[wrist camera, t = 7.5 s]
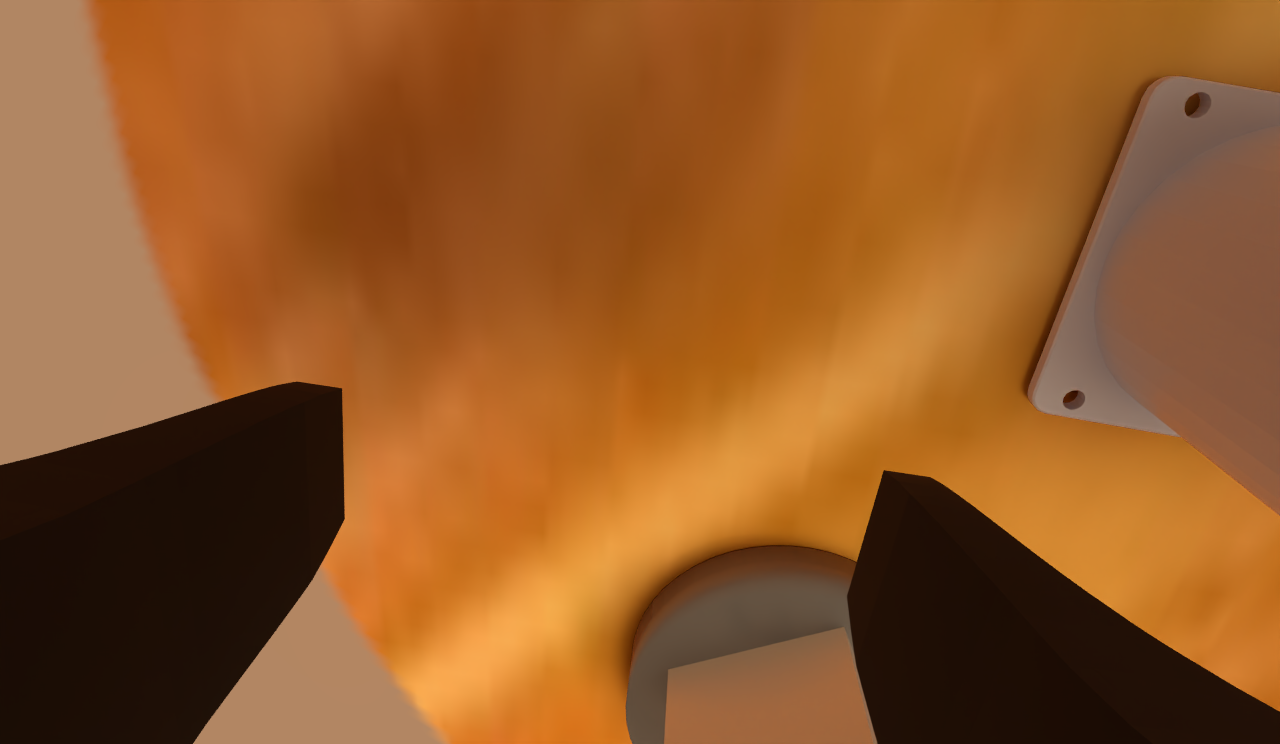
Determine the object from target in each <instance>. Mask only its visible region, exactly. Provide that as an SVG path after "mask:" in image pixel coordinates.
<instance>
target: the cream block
mask: <svg viewBox="0 0 1280 744" xmlns="http://www.w3.org/2000/svg"><path fill="white" fill-rule="evenodd" d="M664 744H877V740H876V737H875V733H874V730H873V726H872V723H871V719H870V715H869V712H868V708H867V704H866V701H865V697H864V693H863V690H862V686H861V682H860V679H859V675H858V671H857V667H856V662H855V655H854V653H853V650H852V647H851V644H850V641H849V639H848V636H847V633H846V630H845V627H841V628H837V629H833V630H829V631H825V632H821V633H817V634H812V635H808V636H804V637H800V638H796V639H792V640H788V641H784V642H779V643H775V644H771V645H767V646H763V647H759V648H755V649H751V650H746V651H742V652H738V653H734V654H730V655H726V656H722V657H718V658H713V659H709V660H705V661H701V662H697V663H693V664H689V665H684V666H680V667H676V668H672V669H668V682H667V700H666V718H665V736H664Z"/></svg>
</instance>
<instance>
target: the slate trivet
mask: <svg viewBox="0 0 1280 744" xmlns="http://www.w3.org/2000/svg"><path fill="white" fill-rule="evenodd" d="M855 567H856V562H854V561H852V560H850V559H847V558H844V557H841V556H838V555H836V554H833V553H829V552H825V551H820V550H816V549H811V548H803V547H795V546H765V547H755V548H748V549H743V550H738V551H733V552H729V553H726V554H723V555H720V556H717V557H714V558H711V559H709V560H707V561H705V562H703V563H701V564H698V565H696V566H694V567H693V568H691V569H689V570H688V571H686V572H685V573H683V574H681V575H680V576H678V577H677V578H676V579H675V580H673V581H672V582H671V583H670V584H669V585H667V586H666V587H665V588H664V589H663V590H662V591H661V592H660V593H659V595H658V596H657V597H656V598H655V599H654V600H653V601H652V603H651V604H650V606H649V607H648V609H647V610H646V612H645V613H644V615H643V617H642V619H641V621H640V624H639V626H638V628H637V631H636V635H635V638H634V642H633V649H632V658H631V666H630V675H629V683H628V692H627V701H626V720H627V726H628V731H629V735H630V739H631V741H632V743H633V744H664V736H665V718H666V700H667V682H668V669H672V668H676V667H680V666H684V665H689V664H693V663H697V662H701V661H705V660H709V659H713V658H718V657H722V656H726V655H730V654H734V653H738V652H742V651H746V650H751V649H755V648H759V647H763V646H767V645H771V644H775V643H779V642H784V641H788V640H792V639H796V638H800V637H804V636H808V635H812V634H817V633H821V632H825V631H829V630H833V629H837V628H841V627H845V630H846V633H847V636H848V639H849V641H850V644H851V647H852V650H853V653H854V649H853V642H852V635H851V627H850V619H849V610H848V602H847V594H848V591H849V587H850V584H851V580H852V577H853V574H854V570H855Z"/></svg>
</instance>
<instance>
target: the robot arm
mask: <svg viewBox="0 0 1280 744" xmlns="http://www.w3.org/2000/svg"><path fill="white" fill-rule="evenodd" d="M1195 93H1197V94H1198V95H1199V98H1200V105H1199V107H1198V109H1197V110H1196V112H1195V113H1193V114H1192V115H1190V116H1187V115H1186V113H1185V111H1184V108H1185V103H1186V101H1187V100H1188V98H1189V97H1190V96H1192V95H1193V94H1195ZM1073 390H1078V395H1077V397H1076V398H1075V399H1074V400H1073V401H1071V402H1069V403H1063V398H1064V396H1065V395H1066V394H1067V393H1069V392H1070V391H1073ZM1027 395H1028V398H1029V401H1030V402H1031V403H1032V404H1033V405H1034V406H1035V407H1036V408H1037V409H1038V410H1039V411H1041V412H1043V413H1046V414H1051V415H1057V416H1063V417H1068V418H1074V419H1080V420H1085V421H1091V422H1097V423H1102V424H1108V425H1114V426H1120V427H1125V428H1131V429H1137V430H1142V431H1148V432H1154V433H1159V434H1165V435H1171V436H1176V437H1182V438H1183V439H1184V440H1186V441H1187V442H1188V443H1189V444H1191V445H1192V446H1193V447H1194V448H1196V449H1197V450H1198V451H1199V452H1201V453H1202V454H1203V455H1204V456H1206V457H1207V458H1208V459H1209V460H1211V461H1212V462H1213V463H1214V464H1216V465H1217V466H1218V467H1219V468H1221V469H1222V470H1223V471H1224V472H1226V473H1227V474H1228V475H1229V476H1231V477H1232V478H1233V479H1234V480H1236V481H1237V482H1238V483H1239V484H1241V485H1242V486H1243V487H1244V488H1246V489H1247V490H1248V491H1249V492H1251V493H1252V494H1253V495H1254V496H1256V497H1257V498H1258V499H1260V500H1261V501H1262V502H1263V503H1265V504H1266V505H1267V506H1268V507H1270V508H1271V509H1272V510H1273V511H1275V512H1276V513H1277V514H1278V515H1280V93H1278V92H1272V91H1266V90H1260V89H1254V88H1248V87H1243V86H1237V85H1231V84H1225V83H1219V82H1214V81H1208V80H1202V79H1196V78H1190V77H1184V76H1165V77H1163V78H1160V79H1158V80H1156V81H1155V82H1154V83H1152V84H1151V85H1150V86H1149V87H1148V88H1147V90H1146V91H1145V93H1144V95H1143V96H1142V99H1141V102H1140V104H1139V107H1138V109H1137V112H1136V114H1135V117H1134V119H1133V122H1132V125H1131V127H1130V130H1129V132H1128V135H1127V137H1126V140H1125V142H1124V145H1123V148H1122V150H1121V153H1120V155H1119V158H1118V160H1117V163H1116V165H1115V168H1114V171H1113V173H1112V176H1111V178H1110V181H1109V183H1108V186H1107V188H1106V191H1105V193H1104V196H1103V199H1102V201H1101V204H1100V206H1099V209H1098V211H1097V214H1096V216H1095V219H1094V222H1093V224H1092V227H1091V229H1090V232H1089V234H1088V237H1087V239H1086V242H1085V245H1084V247H1083V250H1082V252H1081V255H1080V257H1079V260H1078V262H1077V265H1076V268H1075V270H1074V273H1073V275H1072V278H1071V280H1070V283H1069V285H1068V288H1067V291H1066V293H1065V296H1064V298H1063V301H1062V303H1061V306H1060V308H1059V311H1058V314H1057V316H1056V319H1055V321H1054V324H1053V326H1052V329H1051V331H1050V334H1049V336H1048V339H1047V342H1046V344H1045V347H1044V349H1043V352H1042V354H1041V357H1040V359H1039V362H1038V365H1037V367H1036V370H1035V372H1034V375H1033V377H1032V380H1031V382H1030V385H1029V388H1028V394H1027ZM344 519H345V514H344V464H343V415H342V388H336V387H329V386H323V385H316V384H309V383H303V382H292V383H286V384H281V385H276V386H272V387H268V388H265V389H261V390H258V391H254V392H251V393H247V394H244V395H241V396H237V397H234V398H231V399H228V400H225V401H221V402H218V403H215V404H212V405H209V406H206V407H202V408H200V409H196V410H193V411H190V412H187V413H184V414H181V415H178V416H174V417H171V418H168V419H165V420H162V421H158V422H155V423H152V424H149V425H146V426H143V427H139V428H136V429H132V430H129V431H125V432H122V433H118V434H115V435H111V436H108V437H104V438H101V439H97V440H94V441H91V442H87V443H84V444H80V445H76V446H73V447H69V448H67V449H63V450H59V451H56V452H52V453H48V454H44V455H40V456H36V457H33V458H29V459H25V460H20V461H16V462H13V463H8V464H4V465H0V744H193V743H194V741H195V740H196V738H197V737H198V735H199V734H200V732H201V731H202V729H203V728H204V726H205V725H206V724H207V722H208V721H209V720H210V718H211V716H213V714H214V713H215V711H216V710H217V709H218V708H219V706H220V705H221V703H222V702H223V701H224V699H225V698H226V697H227V695H228V694H229V693H230V691H231V690H232V689H233V687H234V686H235V685H236V683H237V682H238V681H239V679H240V678H241V677H242V675H243V674H244V672H245V671H246V670H247V669H248V667H249V666H250V664H251V663H252V662H253V660H254V659H255V658H256V656H257V655H258V654H259V652H260V651H261V650H262V648H263V647H264V646H265V644H266V643H267V642H268V640H269V639H270V638H271V636H272V635H273V634H274V632H275V631H276V630H277V628H278V627H279V625H280V624H281V623H282V621H283V620H284V618H285V617H286V616H287V614H288V613H289V612H290V610H291V609H292V608H293V606H294V605H295V603H296V602H297V601H298V599H299V598H300V597H301V595H302V594H303V592H304V591H305V590H306V588H307V587H308V585H309V584H310V582H311V581H312V579H313V578H314V576H315V574H316V572H317V570H318V569H319V567H320V565H321V563H322V561H323V560H324V558H325V556H326V554H327V552H328V551H329V549H330V547H331V545H332V543H333V541H334V539H335V537H336V535H337V533H338V531H339V529H340V527H341V525H342V523H343V521H344ZM847 602H848V610H849V619H850V627H851V635H852V642H853V649H854V655H855V662H856V667H857V671H858V675H859V679H860V682H861V686H862V690H863V693H864V697H865V701H866V704H867V708H868V712H869V715H870V719H871V723H872V726H873V730H874V733H875V737H876V740H877V744H1280V712H1279V711H1277V710H1276V709H1274V708H1272V707H1270V706H1268V705H1267V704H1265V703H1263V702H1261V701H1260V700H1258V699H1256V698H1254V697H1252V696H1251V695H1249V694H1247V693H1245V692H1243V691H1242V690H1240V689H1238V688H1236V687H1235V686H1233V685H1231V684H1230V683H1228V682H1226V681H1225V680H1223V679H1221V678H1220V677H1218V676H1216V675H1215V674H1213V673H1211V672H1210V671H1208V670H1206V669H1205V668H1203V667H1201V666H1200V665H1198V664H1196V663H1195V662H1193V661H1191V660H1190V659H1188V658H1186V657H1185V656H1183V655H1181V654H1180V653H1178V652H1176V651H1175V650H1173V649H1171V648H1170V647H1168V646H1167V645H1165V644H1164V643H1162V642H1160V641H1159V640H1157V639H1156V638H1154V637H1153V636H1151V635H1150V634H1148V633H1146V632H1145V631H1143V630H1142V629H1140V628H1139V627H1137V626H1136V625H1134V624H1133V623H1131V622H1130V621H1128V620H1127V619H1126V618H1124V617H1123V616H1121V615H1120V614H1118V613H1117V612H1115V611H1114V610H1112V609H1111V608H1110V607H1108V606H1107V605H1105V604H1104V603H1102V602H1101V601H1099V600H1098V599H1097V598H1095V597H1094V596H1092V595H1091V594H1089V593H1088V592H1086V591H1085V590H1084V589H1082V588H1081V587H1079V586H1078V585H1077V584H1075V583H1074V582H1073V581H1071V580H1070V579H1068V578H1067V577H1066V576H1064V575H1063V574H1062V573H1060V572H1059V571H1058V570H1056V569H1055V568H1053V567H1052V566H1051V565H1049V564H1048V563H1047V562H1045V561H1044V560H1043V559H1041V558H1040V557H1039V556H1037V555H1036V554H1035V553H1034V552H1032V551H1031V550H1030V549H1028V548H1027V547H1026V546H1024V545H1023V544H1022V543H1020V542H1019V541H1018V540H1017V539H1015V538H1014V537H1013V536H1011V535H1010V534H1009V533H1007V532H1006V531H1005V530H1004V529H1002V528H1001V527H1000V526H998V525H997V524H996V523H994V522H993V521H992V520H991V519H989V518H988V517H987V516H985V515H984V514H983V513H981V512H980V511H979V510H978V509H976V508H975V507H974V506H972V505H971V504H970V503H968V502H967V501H965V500H964V499H963V498H961V497H960V496H959V495H957V494H956V493H955V492H953V491H952V490H950V489H949V488H947V487H946V486H944V485H943V484H941V483H939V482H938V481H936V480H934V479H933V478H931V477H925V476H918V475H912V474H905V473H898V472H892V471H885V470H884V472H883V475H882V479H881V482H880V485H879V489H878V492H877V495H876V499H875V502H874V506H873V509H872V512H871V516H870V519H869V523H868V526H867V529H866V533H865V536H864V540H863V543H862V546H861V550H860V553H859V557H858V560H857V563H856V567H855V570H854V574H853V577H852V580H851V584H850V587H849V591H848V594H847Z"/></svg>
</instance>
